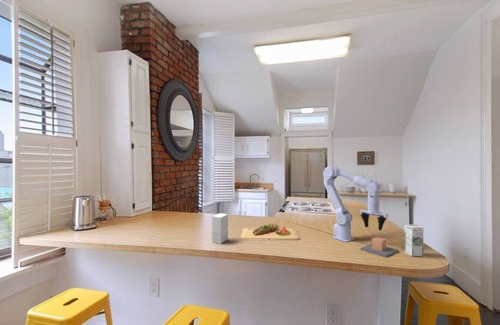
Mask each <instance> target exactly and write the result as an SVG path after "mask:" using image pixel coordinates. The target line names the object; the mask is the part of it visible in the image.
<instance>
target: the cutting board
mask: <svg viewBox="0 0 500 325" xmlns="http://www.w3.org/2000/svg"><path fill="white" fill-rule="evenodd" d="M241 230H242V231H241V234H240V235H241V236H240V239H241V238H242V239H280V240H279V241H299V239H301V238H300V236H299V234H298V232H297V231H296V229H295V228H294V227H293V228H292V227H287V226H283V227H280V226H279V225H278V224H277V223H276V222H275V223H274V222H273V223H269V224H265V223H263V225H261V226H259V227H244V228H242V229H241ZM242 239H241V240H242Z"/></svg>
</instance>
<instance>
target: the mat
mask: <svg viewBox="0 0 500 325" xmlns="http://www.w3.org/2000/svg"><path fill="white" fill-rule="evenodd" d="M360 251H363V252H366V253H370V254H374V255H377V256H380V257H384V258H388V257H390V256H392V255H394V254H396V253H398V252H399V249H397V248H393V247H389V246H386V250H383V251H379V250H375V249H372V243H371V244H368V245H365V246H362V247H360Z"/></svg>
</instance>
